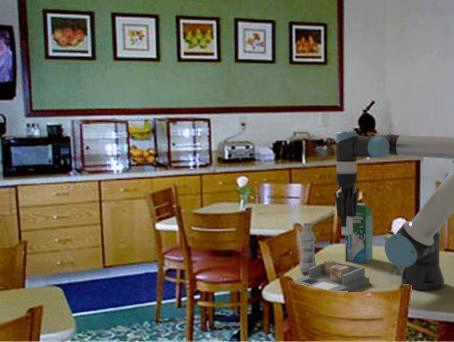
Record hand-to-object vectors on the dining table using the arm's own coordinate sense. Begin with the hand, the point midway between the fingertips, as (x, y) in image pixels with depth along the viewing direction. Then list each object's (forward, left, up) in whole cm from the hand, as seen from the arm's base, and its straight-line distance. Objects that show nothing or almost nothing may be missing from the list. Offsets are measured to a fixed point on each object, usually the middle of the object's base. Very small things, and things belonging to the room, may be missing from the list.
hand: (347, 234), depth 220 cm
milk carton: (+14, -30, -19) cm, 38 cm away
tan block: (+7, +2, -16) cm, 18 cm away
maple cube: (0, +6, -16) cm, 17 cm away
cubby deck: (+3, +7, -18) cm, 20 cm away
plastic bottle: (+19, 0, -19) cm, 27 cm away
